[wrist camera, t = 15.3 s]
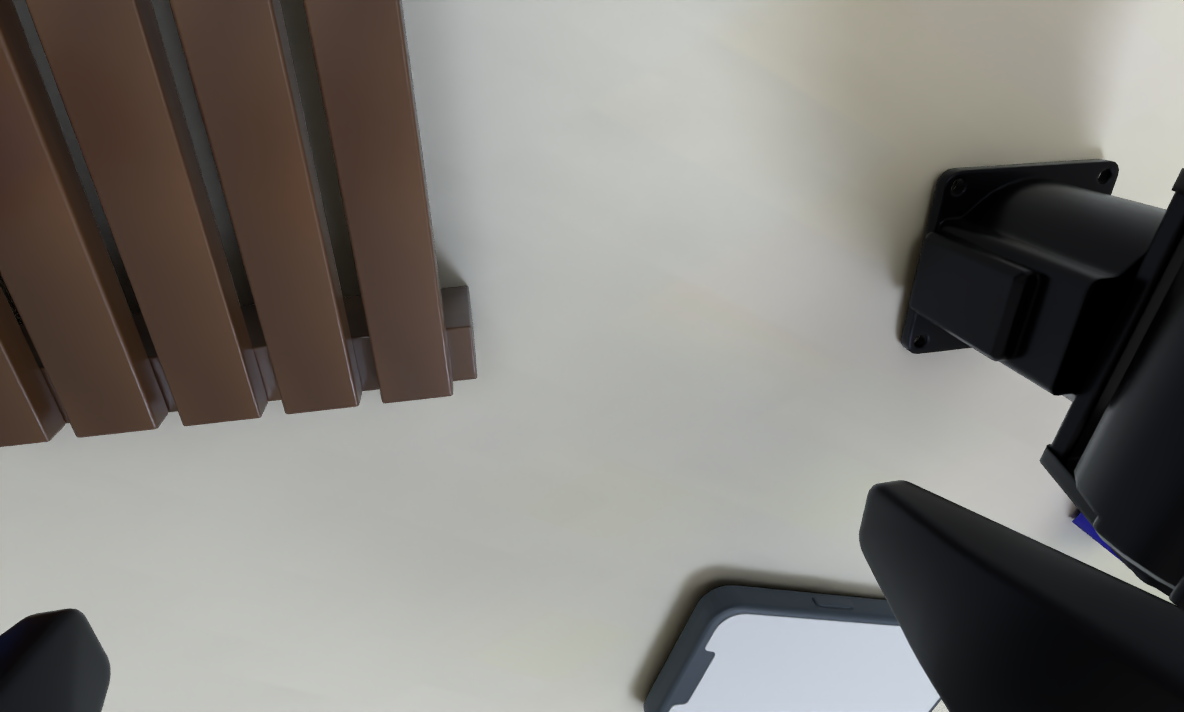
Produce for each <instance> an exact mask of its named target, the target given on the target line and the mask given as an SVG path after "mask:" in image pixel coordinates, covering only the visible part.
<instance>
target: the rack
mask: <svg viewBox="0 0 1184 712" xmlns="http://www.w3.org/2000/svg"><path fill="white" fill-rule="evenodd" d="M25 1H26V4H27V6H28V9H29V12H30V14H31V17H32V20H33V23H34V25H35V28H36V31H37V33H38V36H39V39H40V41H41V44H42V47H43V49H44V52H45V55H46V57H47V60H48V63H49V66H50V68H51V71H52V74H53V76H54V79H55V82H56V84H57V87H58V90H59V92H60V95H61V98H62V100H63V103H64V106H65V109H66V111H67V114H68V117H69V119H70V122H71V125H72V127H73V130H74V133H75V135H76V138H77V141H78V143H79V146H80V149H81V152H82V154H83V157H84V160H85V162H86V165H87V168H88V170H89V173H90V176H91V178H92V181H93V184H94V186H95V189H96V192H97V195H98V197H99V200H100V203H101V205H102V208H103V211H104V213H105V216H106V219H107V221H108V224H109V227H110V229H111V232H112V235H113V238H114V240H115V243H116V246H117V248H118V251H119V254H120V256H121V259H122V262H123V264H124V267H125V270H126V273H127V275H128V278H129V281H130V283H131V286H132V289H133V291H134V294H135V297H136V299H137V302H138V305H139V307H140V310H141V313H142V314H138V315H132V314H131V311H130V309H129V306H128V304H127V301H126V298H125V296H124V293H123V290H122V288H121V285H120V283H119V280H118V277H117V275H116V272H115V269H114V267H113V264H112V262H111V259H110V256H109V254H108V251H107V248H106V246H105V243H104V240H103V238H102V235H101V233H100V230H99V227H98V225H97V222H96V219H95V217H94V214H93V212H92V209H91V206H90V204H89V201H88V198H87V196H86V193H85V191H84V188H83V185H82V183H81V180H80V177H79V175H78V172H77V169H76V167H75V164H74V162H73V159H72V156H71V154H70V151H69V148H68V146H67V143H66V141H65V138H64V135H63V133H62V130H61V127H60V125H59V122H58V120H57V117H56V114H55V112H54V109H53V106H52V104H51V101H50V98H49V96H48V93H47V91H46V88H45V85H44V83H43V80H42V77H41V75H40V72H39V70H38V67H37V64H36V62H35V59H34V56H33V54H32V51H31V49H30V46H29V43H28V41H27V38H26V35H25V33H24V30H23V27H22V25H21V22H20V20H19V17H18V14H17V12H16V9H15V6H14V4H13V1H12V0H0V274H1V276H2V279H3V281H4V283H5V285H6V287H7V289H8V291H9V294H10V296H11V298H12V300H13V302H14V304H15V306H16V308H17V311H18V313H19V315H20V317H21V319H22V321H23V323H24V324H21V325H19V324H18V322H17V319H16V317H15V315H14V313H13V311H12V309H11V307H10V305H9V302H8V300H7V298H6V296H5V294H4V292H3V290H2V288H1V286H0V447H4V446H13V445H22V444H31V443H40V442H48V441H50V440H51V439H52V438H53V437H54V436H55V435H56V434H57V433H58V432H59V431H60V430H61V429H62V428H63V426H64V425H65V423H70V424H71V426H72V428H73V430H74V432H75V434H76V436H77V437H89V436H98V435H107V434H116V433H125V432H134V431H143V430H151V429H156V428H158V427H159V426H160V424H161V423H162V422H163V420H164V419H165V417H166V416H167V415H168V412H174V411H178V412H179V415H180V418H181V420H182V423H183V425H184V426H191V425H200V424H209V423H218V422H226V421H235V420H244V419H253V418H260V417H261V416H262V414H263V412H264V410H265V408H266V406H267V403H268V401H275V400H282V403H283V407H284V410H285V413H286V414H294V413H303V412H312V411H321V410H330V409H338V408H347V407H356V406H358V405H359V403H360V399H361V395H362V391H367V390H376V389H380V394H381V399H382V402H383V403H392V402H401V401H410V400H419V399H428V398H437V397H446V396H451V395H452V394H453V381H458V380H468V379H476V378H477V368H476V355H475V343H474V331H473V322H472V313H471V304H470V295H469V288H468V287H467V286H465V287H454V288H442V289H441V288H440V281H439V274H438V266H437V259H436V251H435V244H434V237H433V229H432V222H431V214H430V207H429V199H428V192H427V185H426V177H425V170H424V162H423V155H422V148H421V140H420V133H419V125H418V118H417V110H416V103H415V96H414V88H413V81H412V73H411V66H410V59H409V51H408V44H407V36H406V29H405V21H404V14H403V7H402V0H303V3H304V8H305V13H306V19H307V24H308V29H309V34H310V39H311V44H312V49H313V54H314V59H315V64H316V69H317V74H318V79H319V84H320V90H321V95H322V100H323V105H324V110H325V115H326V120H327V125H328V130H329V135H330V140H331V145H332V150H333V156H334V161H335V166H336V171H337V176H338V181H339V186H340V191H341V196H342V201H343V206H344V211H345V216H346V221H347V227H348V232H349V237H350V242H351V247H352V252H353V257H354V262H355V267H356V272H357V277H358V282H359V287H360V293H361V295H360V296H348V297H343V296H342V292H341V287H340V282H339V278H338V273H337V268H336V263H335V259H334V254H333V249H332V244H331V240H330V235H329V230H328V226H327V221H326V216H325V211H324V207H323V202H322V197H321V192H320V188H319V183H318V178H317V174H316V169H315V164H314V159H313V155H312V150H311V145H310V140H309V136H308V131H307V126H306V122H305V117H304V112H303V107H302V103H301V98H300V93H299V89H298V84H297V79H296V74H295V70H294V65H293V60H292V55H291V51H290V46H289V41H288V37H287V32H286V27H285V22H284V18H283V13H282V8H281V3H280V0H169V1H170V5H171V8H172V12H173V16H174V19H175V23H176V26H177V30H178V33H179V37H180V40H181V44H182V48H183V51H184V55H185V58H186V62H187V65H188V69H189V72H190V76H191V80H192V83H193V87H194V90H195V94H196V97H197V101H198V104H199V108H200V112H201V115H202V119H203V122H204V126H205V129H206V133H207V136H208V140H209V144H210V147H211V151H212V154H213V158H214V161H215V165H216V168H217V172H218V176H219V179H220V183H221V186H222V190H223V193H224V197H225V200H226V204H227V208H228V211H229V215H230V218H231V222H232V225H233V229H234V232H235V236H236V240H237V243H238V247H239V250H240V254H241V257H242V261H243V264H244V268H245V272H246V275H247V279H248V282H249V286H250V289H251V293H252V296H253V300H254V303H255V305H243V306H240V303H239V300H238V297H237V293H236V290H235V286H234V283H233V280H232V276H231V273H230V269H229V266H228V262H227V259H226V256H225V252H224V249H223V245H222V242H221V239H220V235H219V232H218V228H217V225H216V222H215V218H214V215H213V211H212V208H211V204H210V201H209V198H208V194H207V191H206V187H205V184H204V181H203V177H202V174H201V170H200V167H199V164H198V160H197V157H196V153H195V150H194V146H193V143H192V140H191V136H190V133H189V129H188V126H187V123H186V119H185V116H184V112H183V109H182V106H181V102H180V99H179V95H178V92H177V88H176V85H175V82H174V78H173V75H172V71H171V68H170V65H169V61H168V58H167V54H166V51H165V47H164V44H163V41H162V37H161V34H160V30H159V27H158V24H157V20H156V17H155V13H154V10H153V7H152V3H151V0H25Z"/></svg>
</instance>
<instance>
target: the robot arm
mask: <svg viewBox="0 0 1184 712" xmlns="http://www.w3.org/2000/svg"><path fill="white" fill-rule="evenodd" d="M1118 172H1119V168H1118V165H1117V164H1116V163H1115V162H1112V161H1107V160H1102V159H1091V160H1075V161H1059V162H1044V163H1028V164H1012V165H996V166H981V167H965V168H953V169H949V170H947V171H946V172H944V173H943V174H942V175H941V176H940V178H939V179H938V182H937V184H936V188H935V192H934V197H933V201H932V206H931V210H930V214H929V219H928V223H927V227H926V232H925V236H924V241H923V245H922V249H921V254H920V258H919V262H918V267H917V271H916V276H915V280H914V284H913V289H912V293H911V297H910V302H909V306H908V311H907V315H906V319H905V324H904V328H903V332H902V337H901V343H902V346H903V347H905V348H906V349H907V350H909V351H910V352H912V353H915V354H920V353H929V352H937V351H946V350H954V349H963V348H974V349H975V350H977V351H979V352H980V353H982V354H983V355H985V356H987V357H988V358H990V359H991V360H994V361H999V362H1001V363H1002V364H1004V365H1006V366H1007V367H1009V368H1011V369H1012V370H1014V371H1015V372H1017V373H1019V374H1020V375H1022V376H1024V377H1025V378H1027V379H1029V380H1030V381H1032V382H1033V383H1035V384H1037V385H1038V386H1040V387H1042V388H1043V389H1045V390H1046V391H1048V392H1050V393H1051V394H1053V395H1063V396H1064V397H1066V398H1068V399H1069V400H1071V401H1072V404H1071V406H1070V408H1069V410H1068V412H1067V414H1066V416H1065V418H1064V420H1063V422H1062V424H1061V426H1060V428H1059V430H1058V432H1057V435H1056V437H1055V439H1054V441H1053V443H1052V444H1049V445H1047V447H1046V449H1045V451H1044V453H1043V455H1042V457H1041V459H1040V462H1041V464H1042V465H1043V466H1044V467H1045V469H1046V470H1047V471H1048V472H1049V473H1050V475H1051V476H1052V477H1053V478H1054V480H1055V481H1056V482H1057V483H1058V485H1059V486H1060V487H1061V488H1062V489H1063V491H1064V492H1065V493H1066V494H1067V496H1068V497H1069V498H1070V499H1071V500H1072V502H1073V503H1074V504H1075V505H1076V507H1077V508H1078V509H1079V510H1080V511H1081V513H1082V514H1083V515H1084V516H1085V518H1086V519H1087V520H1088V521H1089V523H1090V524H1091V525H1092V526H1093V528H1094V529H1095V531H1096V532H1097V534H1098V535H1099V537H1100V538H1101V539H1102V540H1103V541H1104V542H1106V543H1107V545H1108V546H1109V547H1110V548H1111V550H1112V551H1113V552H1114V553H1115V554H1116V555H1117V556H1118V558H1119V559H1120V560H1121V561H1122V562H1123V563H1124V564H1125V565H1126V566H1127V567H1128V568H1129V569H1131V570H1132V571H1133V572H1134V573H1135V575H1136V576H1137V577H1138V578H1139V579H1140V580H1142V581H1143V582H1145V583H1146V584H1148V585H1150V586H1153V587H1155V588H1157V589H1158V590H1160V591H1161V592H1163V593H1164V594H1166V595H1168V596H1169V599H1170V600H1171V601H1172V602H1173V603H1174V604H1175V605H1174V604H1172V603H1170V602H1168V601H1165V600H1163V599H1161V598H1159V597H1157V596H1155V595H1152V594H1150V593H1148V592H1146V591H1144V590H1142V589H1139V588H1137V587H1135V586H1133V585H1131V584H1129V583H1126V582H1124V581H1122V580H1120V579H1118V578H1116V577H1113V576H1111V575H1109V574H1107V573H1105V572H1103V571H1101V570H1098V569H1096V568H1094V567H1092V566H1090V565H1088V564H1085V563H1083V562H1081V561H1079V560H1077V559H1075V558H1072V557H1070V556H1068V555H1066V554H1064V553H1062V552H1059V551H1057V550H1055V549H1053V548H1051V547H1049V546H1046V545H1044V544H1042V543H1040V542H1038V541H1036V540H1033V539H1031V538H1029V537H1027V536H1025V535H1023V534H1020V533H1018V532H1016V531H1014V530H1012V529H1010V528H1007V527H1005V526H1003V525H1001V524H999V523H997V522H994V521H992V520H990V519H988V518H986V517H984V516H982V515H979V514H977V513H975V512H973V511H971V510H969V509H966V508H964V507H962V506H960V505H958V504H956V503H953V502H951V501H949V500H947V499H945V498H943V497H940V496H938V495H936V494H934V493H932V492H930V491H927V490H925V489H923V488H921V487H919V486H917V485H914V484H912V483H910V482H907V481H902V480H898V481H892V482H885V483H879V484H876V485H874V486H873V487H872V488H871V489H870V490H869V493H868V496H867V500H866V505H865V509H864V513H863V518H862V522H861V526H860V531H859V541H860V546H861V549H862V552H863V554H864V556H865V558H866V560H867V562H868V564H869V566H870V568H871V570H872V572H873V574H874V576H875V578H876V580H877V582H878V584H879V586H880V588H881V590H882V592H883V594H884V596H885V598H886V600H887V602H888V604H889V606H890V608H891V610H892V612H893V614H894V616H895V618H896V619H897V621H898V623H899V625H900V627H901V629H902V631H903V633H904V635H905V637H906V639H907V641H908V643H909V645H910V647H911V649H912V651H913V652H914V654H915V656H916V658H917V660H918V662H919V663H920V665H921V667H922V668H923V670H924V672H925V673H926V675H927V677H928V678H929V680H930V682H931V683H932V685H933V687H934V688H935V690H936V691H937V693H938V694H939V696H940V698H941V699H942V701H943V702H944V704H945V706H946V707H947V709H948V710H949V712H1184V168H1182V169H1181V172H1180V174H1179V176H1178V178H1177V180H1176V182H1175V184H1174V186H1173V188H1172V190H1173V191H1176V192H1175V194H1174V196H1173V198H1172V200H1171V202H1170V204H1169V206H1168V208H1167V210H1166V209H1162V208H1158V207H1154V206H1150V205H1146V204H1143V203H1139V202H1135V201H1131V200H1127V199H1123V198H1119V197H1115V196H1112V195H1111V193H1112V190H1113V188H1114V185H1115V182H1116V179H1117V176H1118ZM1100 173H1101V175H1100ZM1099 175H1100V176H1099ZM1098 177H1099V178H1098ZM956 180H957V185H956V187H955V188H954V189H953V190H952V191H951V187H952V185H953V183H954V182H955V181H956ZM918 336H920V337H919V339H918V340H917V341H916V342H914V341H915V339H916V338H917V337H918ZM1176 605H1177V606H1176ZM109 681H110V663H109V660H108V657H107V655H106V653H105V651H104V650H103V648H102V646H101V644H100V642H99V640H98V639H97V637H96V635H95V633H94V631H93V629H92V628H91V626H90V624H89V622H88V620H87V618H86V617H85V615H84V614H83V613H82V612H80V611H79V610H77V609H63V610H56V611H50V612H43V613H37V614H34V615H30V616H28V617H26V618H24V619H23V620H21V621H20V622H18V623H17V624H15V625H14V626H13V627H11V628H10V629H9V630H7V631H6V632H5V633H3V634H2V635H1V636H0V712H101V710H102V707H103V703H104V700H105V697H106V693H107V690H108V686H109Z"/></svg>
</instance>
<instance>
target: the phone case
mask: <svg viewBox="0 0 1184 712" xmlns="http://www.w3.org/2000/svg"><path fill="white" fill-rule="evenodd" d="M940 700H941V698H940V696H939V694H938V693H937V691H936V690H935V688H934V687H933V685H932V683H931V682H930V680H929V678H928V677H927V675H926V673H925V672H924V670H923V668H922V667H921V665H920V663H919V662H918V660H917V658H916V656H915V654H914V652H913V651H912V649H911V647H910V645H909V643H908V641H907V639H906V637H905V635H904V633H903V631H902V629H901V627H900V625H899V623H898V621H897V619H896V618H895V616H894V614H893V612H892V610H891V608H890V606H889V604H888V602H887V600H880V599H870V598H860V597H849V596H839V595H829V594H818V593H808V592H798V591H787V590H777V589H767V588H757V587H746V586H736V585H727V586H722V587H718V588H716V589H713V590H712V591H710V592H708V593H707V594H706V595H704V596H703V597H702V598H701V599H700V600H699V602H698V603H697V605H696V607H695V609H694V611H693V612H692V614H691V616H690V618H689V620H688V622H687V623H686V625H685V627H684V629H683V631H682V633H681V635H680V636H679V638H678V640H677V642H676V644H675V646H674V648H673V649H672V651H671V653H670V655H669V657H668V659H667V661H666V662H665V664H664V666H663V668H662V670H661V672H660V674H659V675H658V677H657V679H656V681H655V683H654V685H653V686H652V688H651V690H650V692H649V694H648V696H647V698H646V700H645V703H644V711H645V712H932V710H933V709H934V708H935V707H936V705H937V704H938V703H939V702H940Z"/></svg>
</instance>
